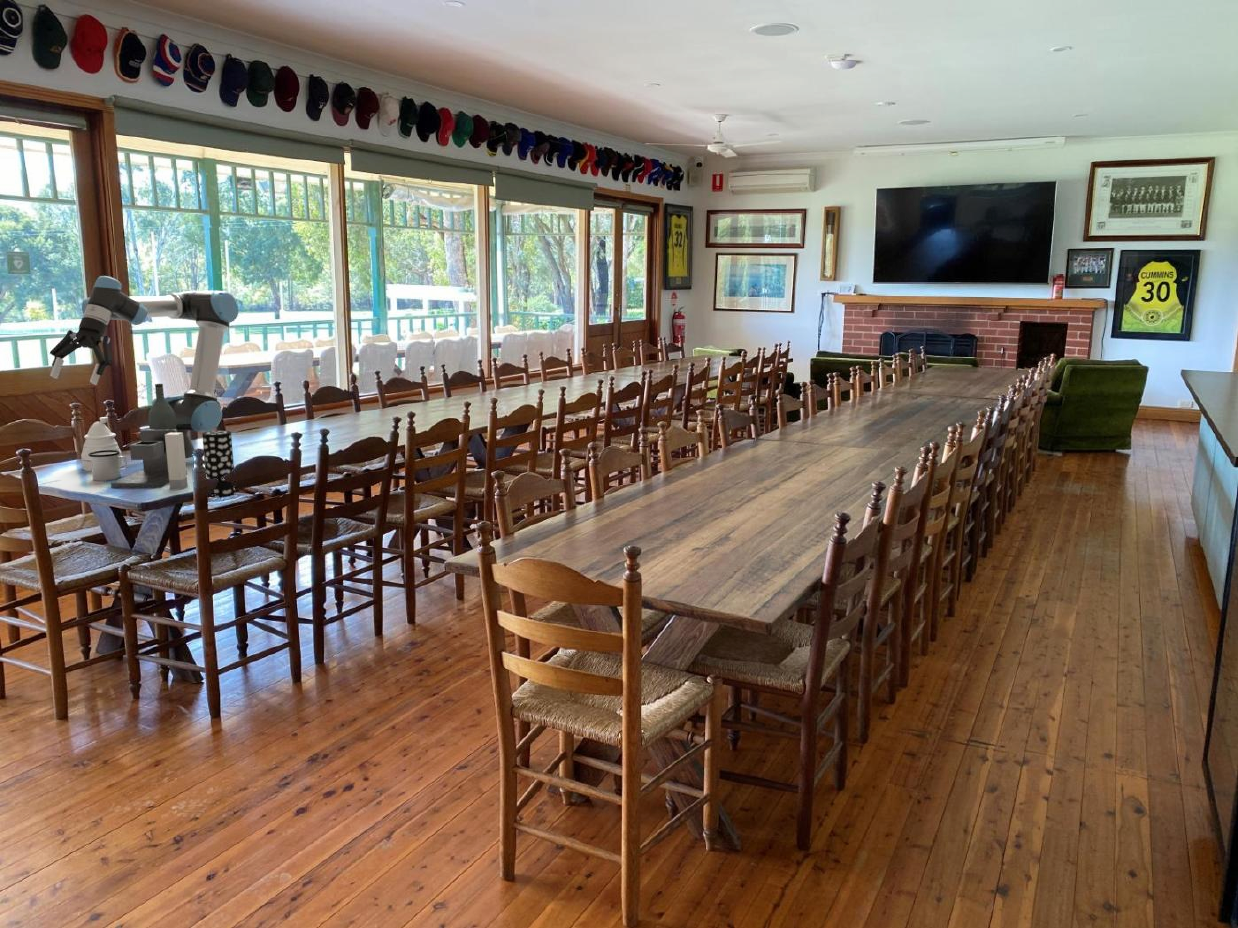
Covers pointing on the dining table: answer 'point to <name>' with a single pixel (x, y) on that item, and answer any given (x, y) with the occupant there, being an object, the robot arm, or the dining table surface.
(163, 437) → the coffee machine
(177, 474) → the tall white block
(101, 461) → the mug
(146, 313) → the robot arm
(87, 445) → the honey pot
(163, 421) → the bottle
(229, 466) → the black dotted tall container
